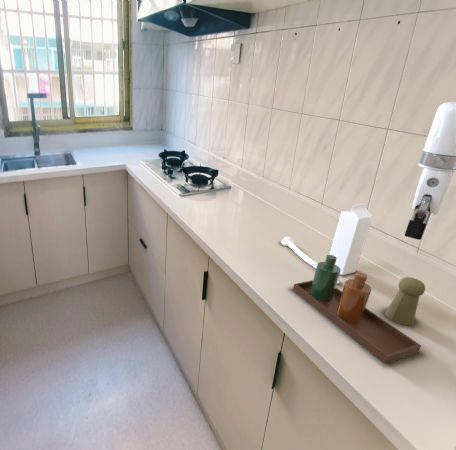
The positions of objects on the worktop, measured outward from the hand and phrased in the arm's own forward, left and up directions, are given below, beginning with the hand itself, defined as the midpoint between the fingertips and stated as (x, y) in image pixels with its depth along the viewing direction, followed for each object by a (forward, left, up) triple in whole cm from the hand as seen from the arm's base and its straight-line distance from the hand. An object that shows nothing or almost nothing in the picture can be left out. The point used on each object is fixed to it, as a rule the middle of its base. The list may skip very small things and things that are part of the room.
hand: (414, 231), depth 82 cm
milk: (-3, -18, -22) cm, 29 cm away
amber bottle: (+15, +1, -21) cm, 26 cm away
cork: (+2, +5, -22) cm, 22 cm away
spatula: (+3, -25, -22) cm, 34 cm away
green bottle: (+15, -8, -21) cm, 27 cm away
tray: (+15, +1, -22) cm, 26 cm away
